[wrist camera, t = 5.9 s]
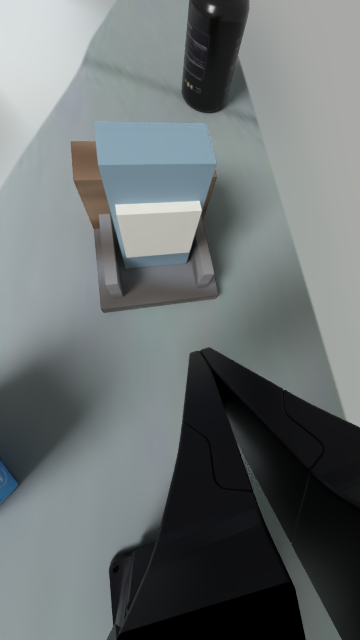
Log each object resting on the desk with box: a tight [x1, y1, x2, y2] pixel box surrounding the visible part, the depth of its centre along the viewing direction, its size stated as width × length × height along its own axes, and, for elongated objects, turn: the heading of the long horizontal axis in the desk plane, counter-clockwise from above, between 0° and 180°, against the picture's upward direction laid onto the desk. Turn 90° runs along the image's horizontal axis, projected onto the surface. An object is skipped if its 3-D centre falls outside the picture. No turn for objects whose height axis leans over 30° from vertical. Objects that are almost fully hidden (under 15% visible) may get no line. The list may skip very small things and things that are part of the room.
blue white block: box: [94, 121, 217, 269], centre depth 17 cm, size 4×6×11 cm, turn 100°
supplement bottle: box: [182, 0, 249, 112], centre depth 25 cm, size 7×7×12 cm
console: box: [71, 141, 218, 313], centre depth 19 cm, size 13×12×8 cm
